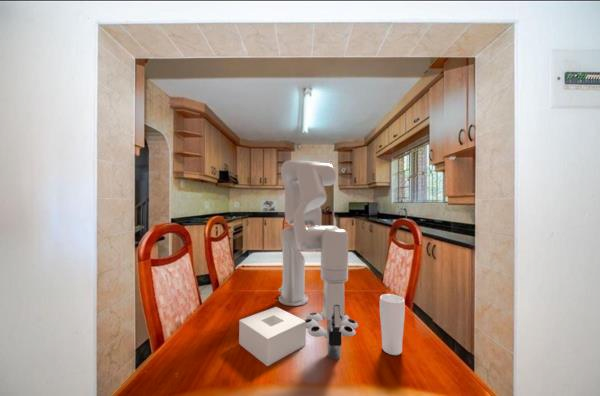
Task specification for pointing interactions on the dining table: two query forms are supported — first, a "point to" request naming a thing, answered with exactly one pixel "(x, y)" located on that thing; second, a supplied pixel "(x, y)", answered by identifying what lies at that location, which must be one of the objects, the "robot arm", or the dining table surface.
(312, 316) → the round palette
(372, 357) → the dining table surface
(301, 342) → the socket block
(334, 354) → the pin
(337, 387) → the dining table surface
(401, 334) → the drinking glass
